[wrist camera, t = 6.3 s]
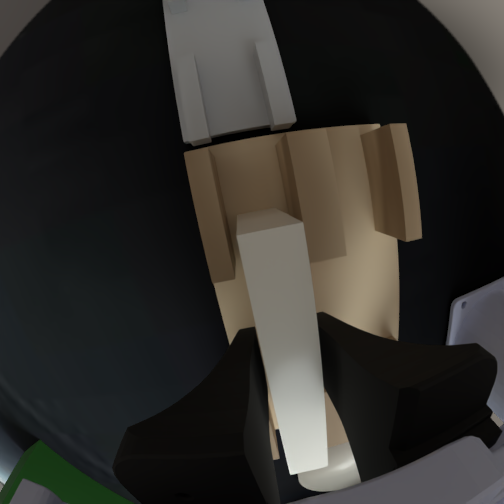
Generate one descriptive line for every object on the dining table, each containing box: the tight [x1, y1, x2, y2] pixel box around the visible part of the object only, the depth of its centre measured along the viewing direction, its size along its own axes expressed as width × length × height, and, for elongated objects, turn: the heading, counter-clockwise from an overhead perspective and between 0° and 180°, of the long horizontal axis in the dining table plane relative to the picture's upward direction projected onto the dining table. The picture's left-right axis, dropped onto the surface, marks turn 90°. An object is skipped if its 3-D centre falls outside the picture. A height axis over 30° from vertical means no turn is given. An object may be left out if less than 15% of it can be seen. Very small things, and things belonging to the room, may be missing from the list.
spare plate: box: [297, 442, 361, 491], centre depth 17 cm, size 9×9×1 cm
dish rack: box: [184, 124, 422, 460], centre depth 12 cm, size 9×16×4 cm, turn 11°
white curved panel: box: [236, 208, 328, 475], centre depth 10 cm, size 2×10×6 cm, turn 11°
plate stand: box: [163, 0, 296, 146], centre depth 10 cm, size 5×12×2 cm, turn 11°
